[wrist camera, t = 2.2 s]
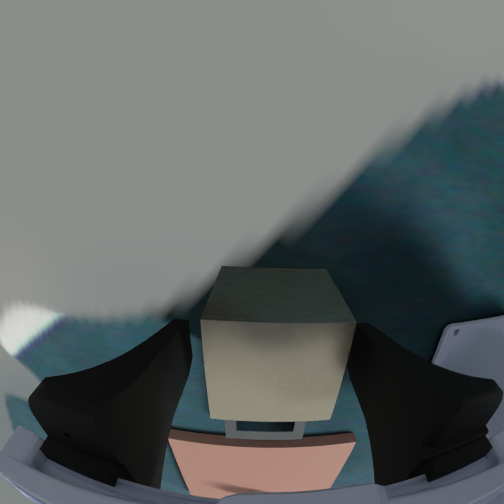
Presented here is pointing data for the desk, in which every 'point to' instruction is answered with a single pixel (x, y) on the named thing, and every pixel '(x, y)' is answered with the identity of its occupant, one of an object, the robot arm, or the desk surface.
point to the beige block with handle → (274, 350)
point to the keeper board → (258, 463)
